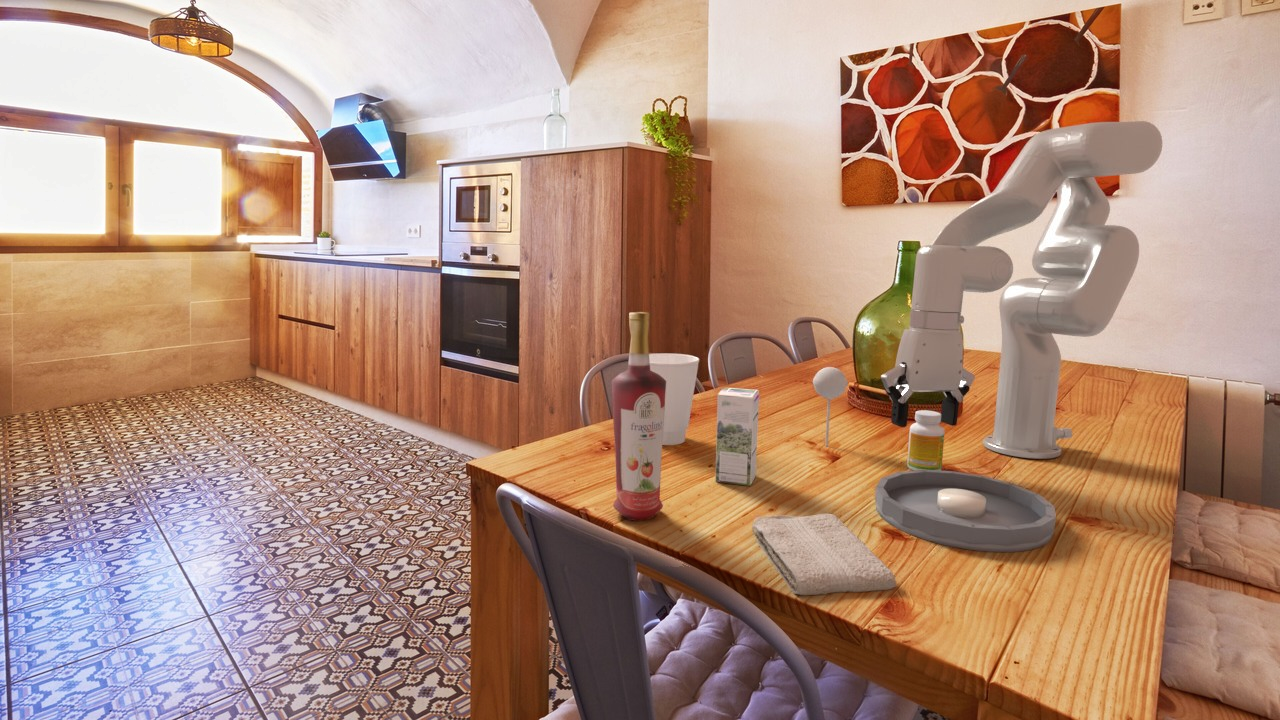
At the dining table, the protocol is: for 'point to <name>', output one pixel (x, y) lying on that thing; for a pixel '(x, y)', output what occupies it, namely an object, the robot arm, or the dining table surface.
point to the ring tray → (965, 510)
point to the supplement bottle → (926, 442)
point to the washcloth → (820, 555)
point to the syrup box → (737, 435)
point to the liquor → (638, 428)
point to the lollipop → (829, 387)
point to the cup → (676, 392)
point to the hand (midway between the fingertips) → (923, 424)
